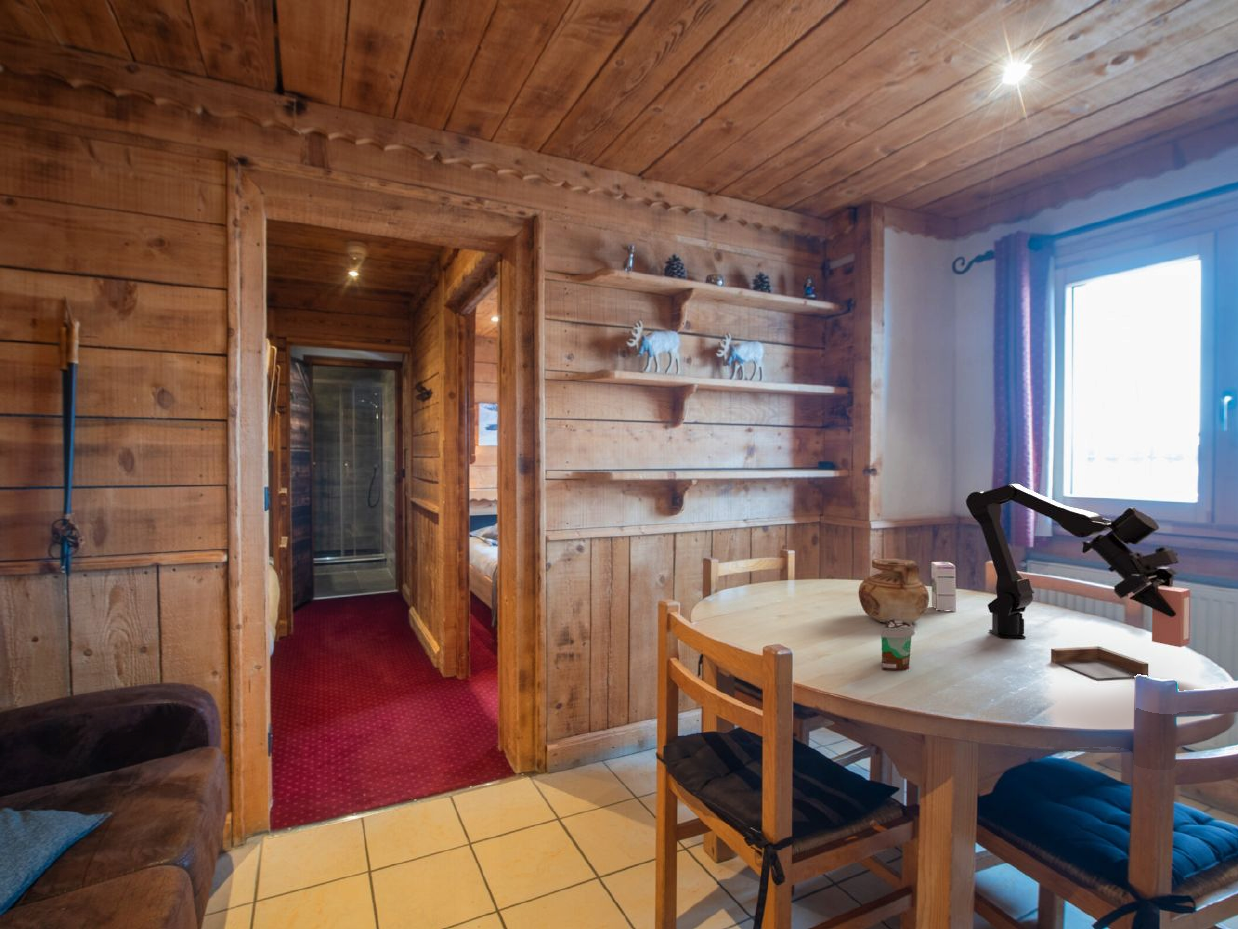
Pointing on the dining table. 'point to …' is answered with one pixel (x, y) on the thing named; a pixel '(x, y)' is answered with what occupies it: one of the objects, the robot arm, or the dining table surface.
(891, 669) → the food container
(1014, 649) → the dining table surface
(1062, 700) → the dining table surface
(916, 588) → the clay pot
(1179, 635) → the red block
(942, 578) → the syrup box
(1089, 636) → the dining table surface
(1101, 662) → the tray
